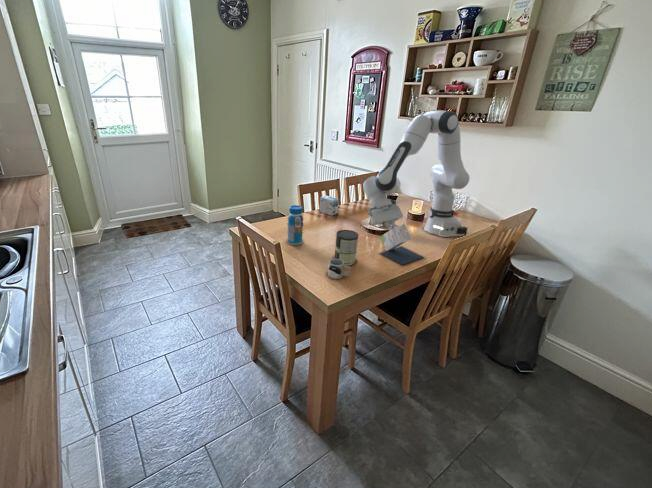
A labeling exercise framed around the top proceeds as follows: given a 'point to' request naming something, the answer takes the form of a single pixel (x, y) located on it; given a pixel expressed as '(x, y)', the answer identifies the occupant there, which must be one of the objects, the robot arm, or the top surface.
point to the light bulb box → (329, 205)
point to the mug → (337, 269)
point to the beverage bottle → (295, 225)
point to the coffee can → (346, 246)
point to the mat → (402, 255)
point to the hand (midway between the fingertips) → (392, 229)
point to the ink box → (395, 237)
